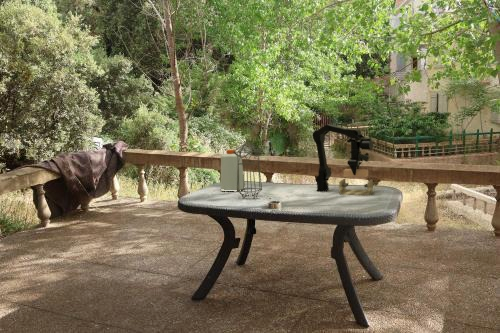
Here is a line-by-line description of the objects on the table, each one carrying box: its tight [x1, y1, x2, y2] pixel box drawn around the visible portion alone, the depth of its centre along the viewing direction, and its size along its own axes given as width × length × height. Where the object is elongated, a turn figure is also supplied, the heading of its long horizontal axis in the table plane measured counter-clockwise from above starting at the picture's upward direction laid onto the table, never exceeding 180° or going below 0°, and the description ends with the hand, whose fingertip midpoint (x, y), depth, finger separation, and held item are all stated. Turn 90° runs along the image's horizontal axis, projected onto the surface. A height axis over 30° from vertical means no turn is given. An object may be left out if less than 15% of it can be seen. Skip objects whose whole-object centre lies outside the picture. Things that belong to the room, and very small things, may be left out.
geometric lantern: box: [233, 141, 263, 198], centre depth 289 cm, size 16×16×35 cm
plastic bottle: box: [220, 149, 246, 190], centre depth 317 cm, size 15×15×28 cm
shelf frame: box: [338, 178, 374, 196], centre depth 288 cm, size 18×12×8 cm, turn 66°
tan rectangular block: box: [343, 168, 369, 178], centre depth 286 cm, size 14×6×4 cm, turn 66°
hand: (355, 174), depth 286 cm, fingers closed on tan rectangular block, 6 cm apart
